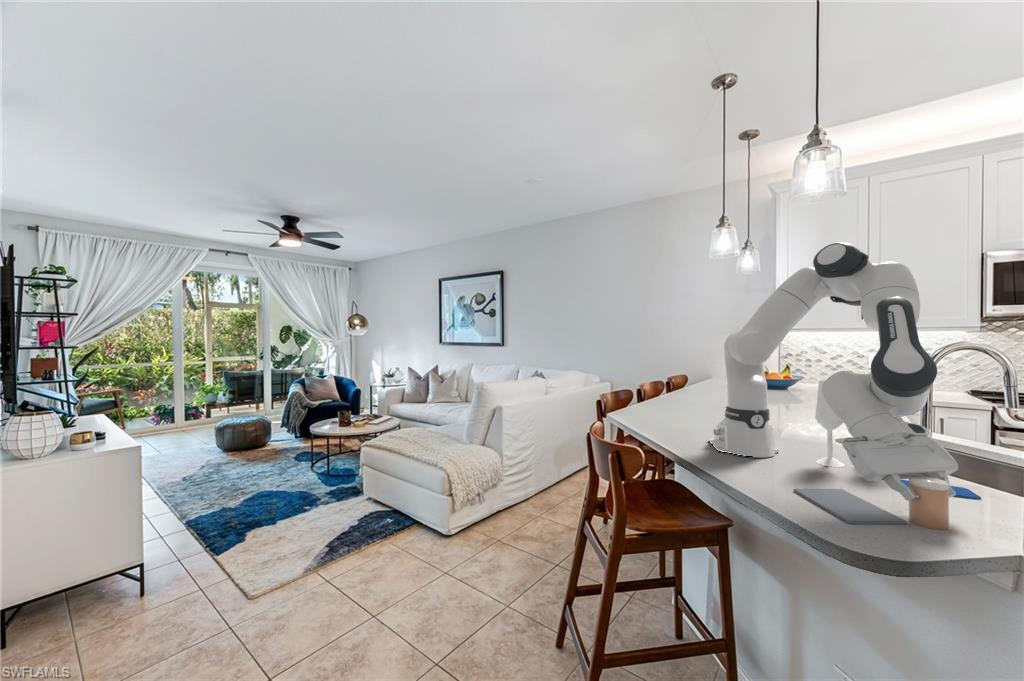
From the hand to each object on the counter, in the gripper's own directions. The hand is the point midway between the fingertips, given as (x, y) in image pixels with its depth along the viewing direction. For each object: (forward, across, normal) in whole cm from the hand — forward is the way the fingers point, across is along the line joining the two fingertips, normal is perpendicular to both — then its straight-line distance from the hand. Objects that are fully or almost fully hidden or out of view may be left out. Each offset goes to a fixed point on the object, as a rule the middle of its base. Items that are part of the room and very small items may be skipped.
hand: (932, 498), depth 80 cm
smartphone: (-7, +20, +15) cm, 26 cm away
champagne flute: (-22, +14, +30) cm, 40 cm away
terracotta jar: (+3, 0, +4) cm, 5 cm away
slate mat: (-4, -8, +11) cm, 14 cm away
